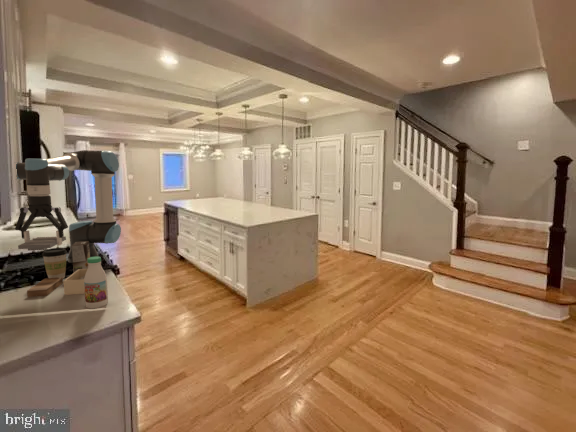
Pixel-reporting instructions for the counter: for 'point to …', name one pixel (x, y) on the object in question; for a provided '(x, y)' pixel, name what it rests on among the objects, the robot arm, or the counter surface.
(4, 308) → the counter surface
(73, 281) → the tub
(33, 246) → the lid
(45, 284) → the stand
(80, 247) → the coffee box
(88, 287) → the milk bottle
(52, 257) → the coffee cup
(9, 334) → the counter surface
